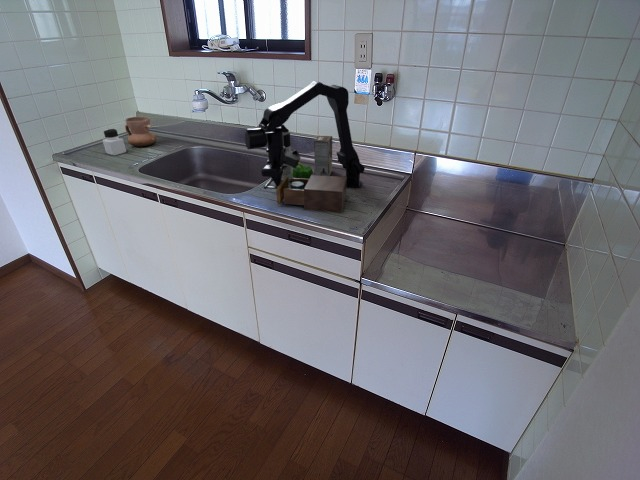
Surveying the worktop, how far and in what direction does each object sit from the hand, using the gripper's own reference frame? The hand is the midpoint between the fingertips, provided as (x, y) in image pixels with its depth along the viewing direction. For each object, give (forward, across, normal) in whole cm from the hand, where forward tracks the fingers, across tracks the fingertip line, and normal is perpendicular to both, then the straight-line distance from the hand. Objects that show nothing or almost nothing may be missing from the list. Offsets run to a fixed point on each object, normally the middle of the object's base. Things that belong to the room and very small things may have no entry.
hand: (278, 186), depth 139 cm
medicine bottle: (+6, +43, +100) cm, 109 cm away
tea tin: (+4, 0, -7) cm, 8 cm away
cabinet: (+6, 0, -18) cm, 19 cm away
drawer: (+5, 0, -5) cm, 6 cm away
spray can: (+6, +20, +3) cm, 21 cm away
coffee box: (+6, +30, -12) cm, 33 cm away
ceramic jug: (+6, +59, +95) cm, 112 cm away
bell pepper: (+6, +15, -6) cm, 17 cm away
